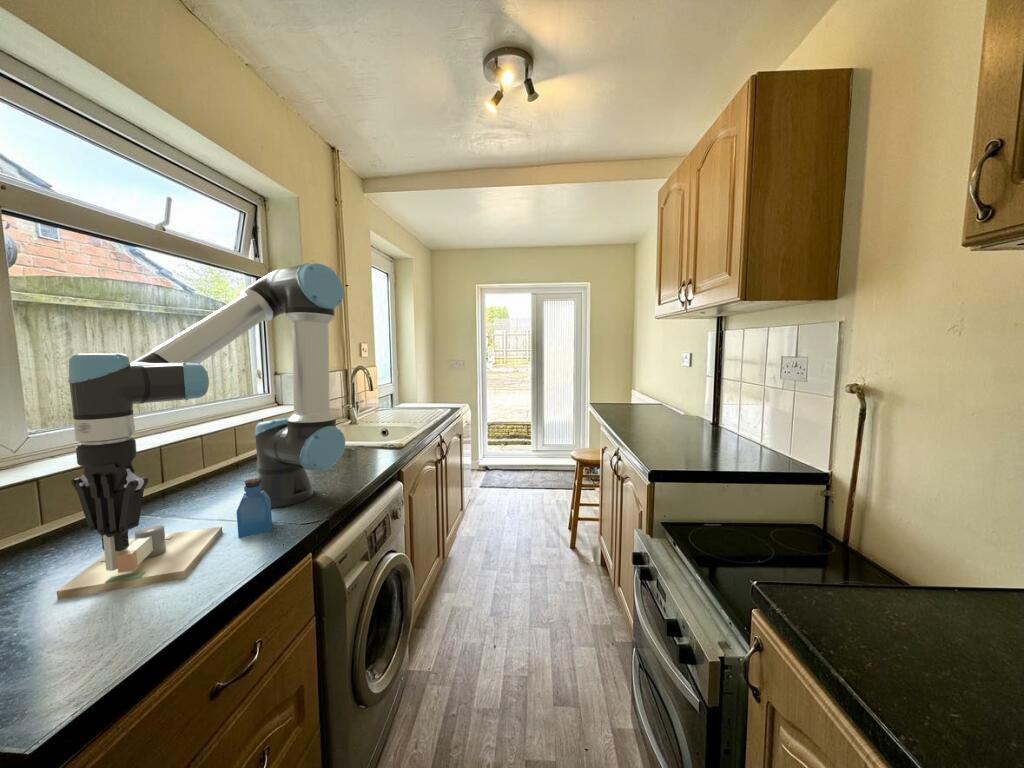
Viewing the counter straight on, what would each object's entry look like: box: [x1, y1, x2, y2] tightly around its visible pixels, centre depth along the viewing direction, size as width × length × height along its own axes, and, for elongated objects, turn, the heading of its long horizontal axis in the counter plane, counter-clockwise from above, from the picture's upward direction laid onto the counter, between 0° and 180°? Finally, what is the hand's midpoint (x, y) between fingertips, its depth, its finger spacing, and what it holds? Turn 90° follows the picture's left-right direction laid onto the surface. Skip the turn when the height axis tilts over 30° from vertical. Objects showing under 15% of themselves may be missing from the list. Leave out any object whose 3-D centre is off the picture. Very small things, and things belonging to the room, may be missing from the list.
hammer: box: [117, 524, 166, 573], centre depth 77 cm, size 12×4×5 cm, turn 22°
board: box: [56, 526, 223, 600], centre depth 81 cm, size 18×20×2 cm
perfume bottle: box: [236, 477, 273, 539], centre depth 94 cm, size 6×6×12 cm
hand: (117, 566), depth 73 cm, fingers closed
